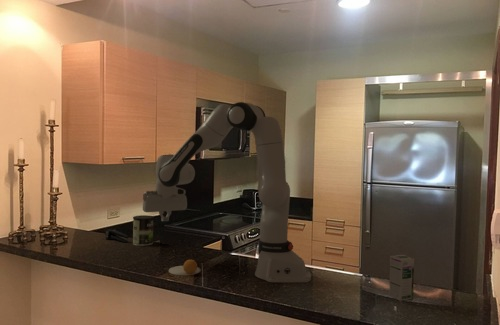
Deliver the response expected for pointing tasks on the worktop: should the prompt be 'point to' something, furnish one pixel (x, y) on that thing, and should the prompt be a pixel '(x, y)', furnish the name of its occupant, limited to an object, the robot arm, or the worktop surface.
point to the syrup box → (401, 277)
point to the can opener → (115, 235)
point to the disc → (181, 271)
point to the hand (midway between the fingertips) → (164, 220)
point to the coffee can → (142, 230)
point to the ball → (190, 266)
